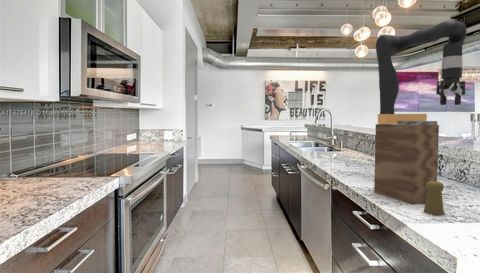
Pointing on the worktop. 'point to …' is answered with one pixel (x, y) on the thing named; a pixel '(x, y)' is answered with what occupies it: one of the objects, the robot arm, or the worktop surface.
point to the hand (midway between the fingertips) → (450, 104)
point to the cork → (434, 198)
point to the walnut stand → (406, 159)
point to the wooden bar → (400, 118)
